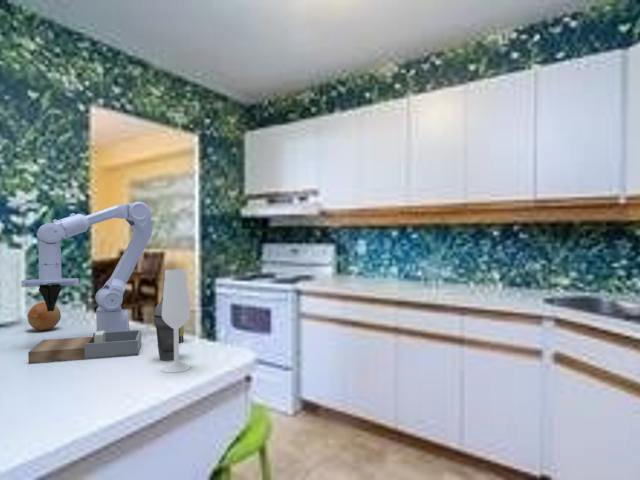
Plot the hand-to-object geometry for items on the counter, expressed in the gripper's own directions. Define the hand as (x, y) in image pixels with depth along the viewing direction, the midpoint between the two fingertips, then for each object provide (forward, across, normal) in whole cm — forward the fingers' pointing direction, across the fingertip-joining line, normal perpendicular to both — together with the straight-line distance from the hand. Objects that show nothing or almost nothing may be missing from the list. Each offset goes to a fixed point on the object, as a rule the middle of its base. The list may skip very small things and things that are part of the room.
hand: (51, 310), depth 138 cm
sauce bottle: (+11, +34, -6) cm, 36 cm away
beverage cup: (+11, +33, -25) cm, 43 cm away
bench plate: (+10, +6, -12) cm, 17 cm away
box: (+10, +18, -12) cm, 24 cm away
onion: (+11, -8, +26) cm, 29 cm away
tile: (+8, +14, -12) cm, 20 cm away
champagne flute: (+11, +35, -35) cm, 51 cm away
